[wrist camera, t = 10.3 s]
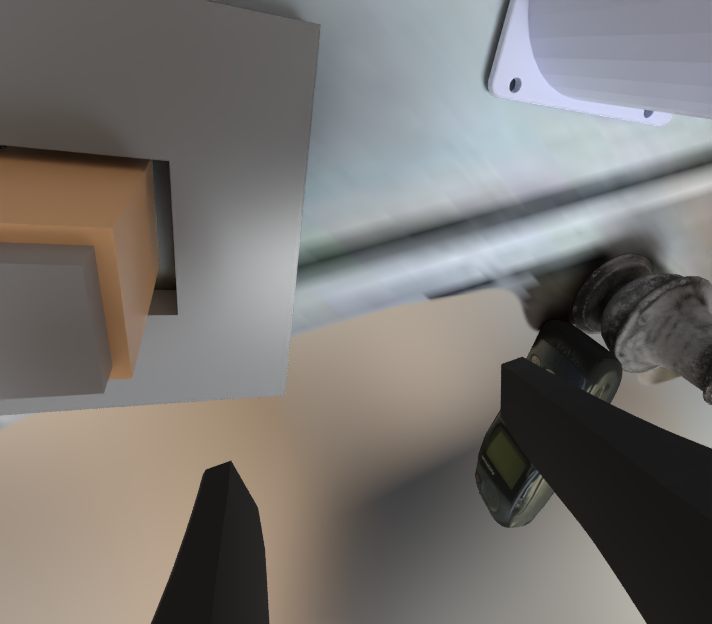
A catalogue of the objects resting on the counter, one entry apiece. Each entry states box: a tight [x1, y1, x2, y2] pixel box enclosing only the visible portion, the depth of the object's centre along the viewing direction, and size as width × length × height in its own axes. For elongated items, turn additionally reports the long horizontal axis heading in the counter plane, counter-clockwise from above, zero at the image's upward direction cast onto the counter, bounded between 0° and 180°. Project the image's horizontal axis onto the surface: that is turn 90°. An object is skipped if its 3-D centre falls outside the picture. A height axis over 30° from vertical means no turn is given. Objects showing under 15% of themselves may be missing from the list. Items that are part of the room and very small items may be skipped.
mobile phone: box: [475, 320, 622, 528], centre depth 26 cm, size 5×3×15 cm
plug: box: [0, 146, 160, 400], centre depth 12 cm, size 4×4×8 cm
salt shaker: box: [572, 254, 712, 405], centre depth 20 cm, size 6×6×12 cm
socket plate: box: [0, 0, 320, 415], centre depth 14 cm, size 14×14×2 cm
